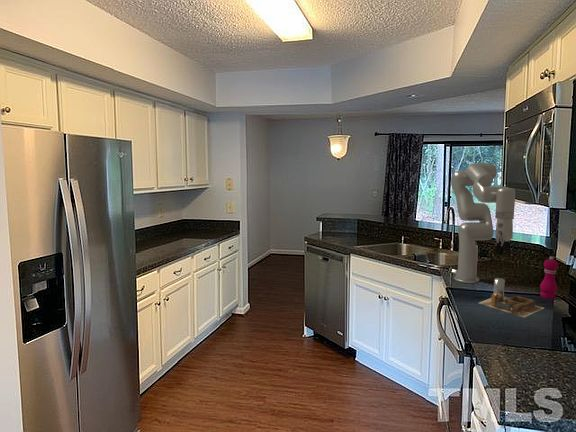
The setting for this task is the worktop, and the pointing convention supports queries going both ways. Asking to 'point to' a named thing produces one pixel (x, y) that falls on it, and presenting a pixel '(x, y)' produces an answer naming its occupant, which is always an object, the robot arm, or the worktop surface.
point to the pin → (499, 303)
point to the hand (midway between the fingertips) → (502, 252)
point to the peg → (499, 288)
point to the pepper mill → (549, 279)
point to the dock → (524, 314)
